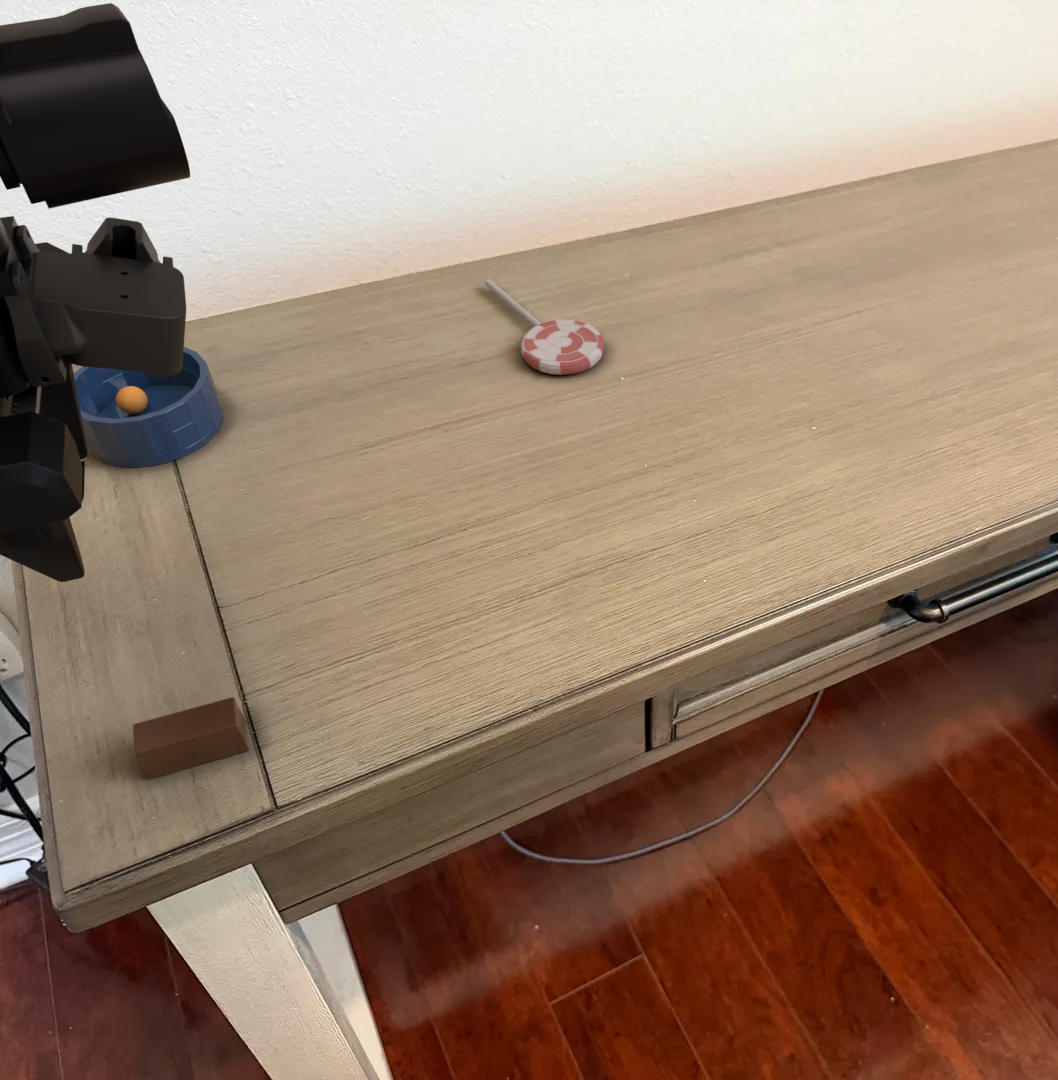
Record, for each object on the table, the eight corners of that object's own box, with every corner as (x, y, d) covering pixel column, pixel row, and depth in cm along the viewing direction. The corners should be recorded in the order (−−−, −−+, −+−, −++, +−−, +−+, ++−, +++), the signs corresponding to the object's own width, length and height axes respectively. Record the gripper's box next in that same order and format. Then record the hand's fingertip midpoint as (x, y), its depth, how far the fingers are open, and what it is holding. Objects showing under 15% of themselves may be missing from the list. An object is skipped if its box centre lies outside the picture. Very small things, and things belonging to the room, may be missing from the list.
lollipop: (520, 265, 90) (620, 346, 82) (521, 276, 91) (620, 357, 83) (452, 288, 87) (549, 375, 79) (454, 299, 88) (550, 386, 80)
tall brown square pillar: (249, 750, 56) (236, 725, 55) (149, 779, 55) (133, 754, 53) (246, 722, 58) (233, 696, 56) (148, 749, 56) (132, 723, 55)
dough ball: (127, 412, 76) (105, 407, 74) (135, 386, 76) (113, 380, 74) (149, 419, 75) (128, 413, 73) (157, 392, 75) (136, 386, 73)
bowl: (85, 480, 71) (61, 435, 68) (86, 401, 77) (64, 356, 74) (228, 451, 74) (211, 406, 71) (218, 376, 79) (202, 332, 77)
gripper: (142, 320, 38) (260, 604, 49) (135, 112, 50) (231, 378, 61) (-224, 381, 34) (-8, 670, 45) (-137, 142, 46) (18, 417, 57)
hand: (75, 514), depth 52 cm, fingers open, 9 cm apart
